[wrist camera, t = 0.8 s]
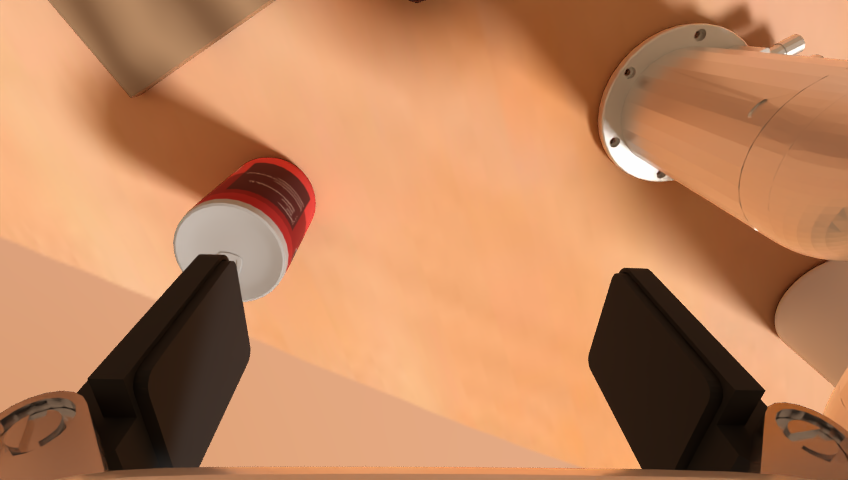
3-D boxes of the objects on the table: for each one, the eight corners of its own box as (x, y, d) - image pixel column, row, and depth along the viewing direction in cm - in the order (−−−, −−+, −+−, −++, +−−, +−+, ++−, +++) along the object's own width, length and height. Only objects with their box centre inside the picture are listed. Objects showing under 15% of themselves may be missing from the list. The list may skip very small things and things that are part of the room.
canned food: (241, 235, 41) (187, 303, 31) (224, 153, 37) (157, 201, 27) (321, 235, 41) (293, 303, 31) (313, 154, 37) (277, 202, 28)
